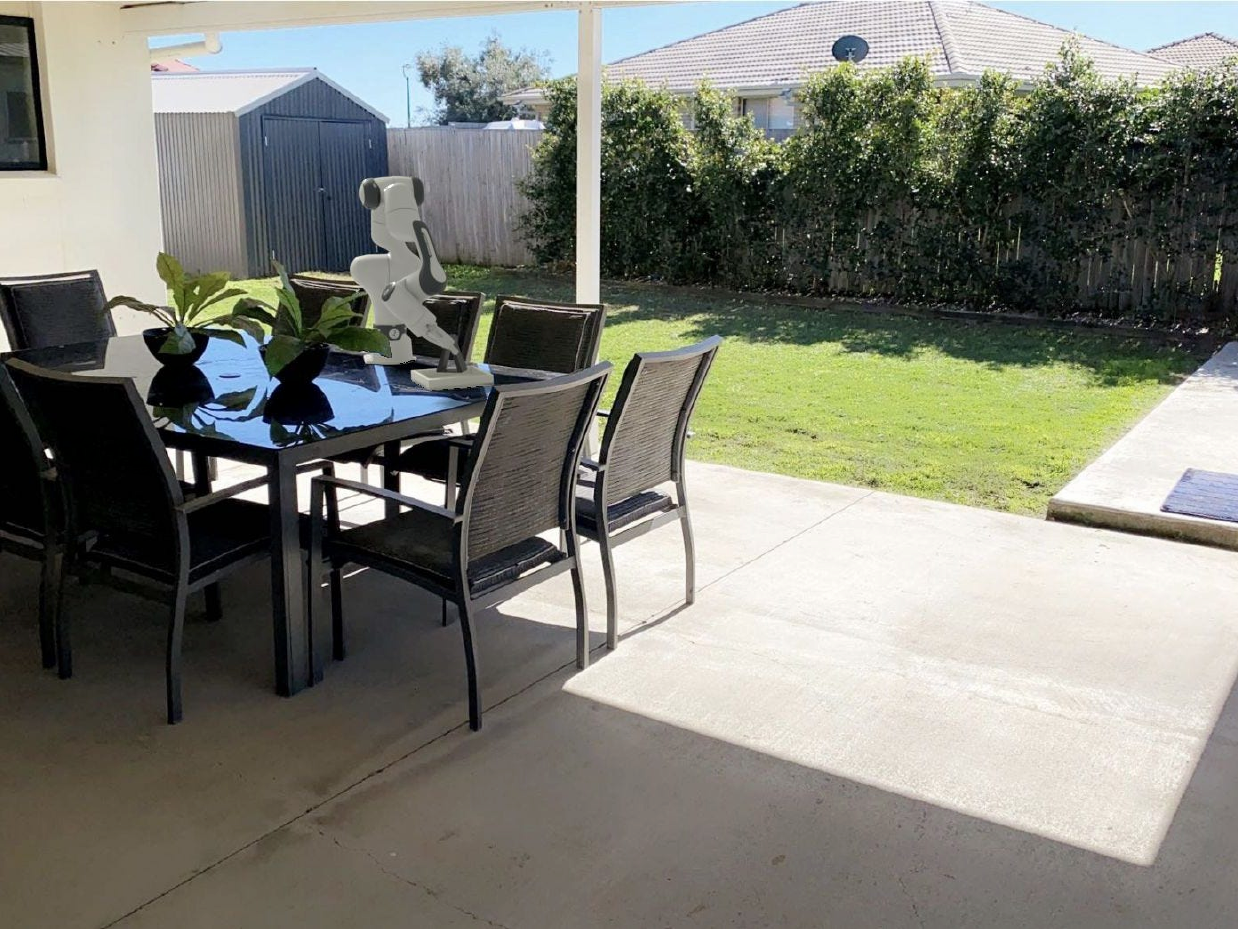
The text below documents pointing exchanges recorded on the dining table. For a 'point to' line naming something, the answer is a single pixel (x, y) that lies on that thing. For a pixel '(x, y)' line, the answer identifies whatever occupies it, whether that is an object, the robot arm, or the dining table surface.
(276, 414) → the dining table surface
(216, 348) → the dining table surface
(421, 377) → the tray
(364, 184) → the robot arm
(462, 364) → the dark brown triangular stand
